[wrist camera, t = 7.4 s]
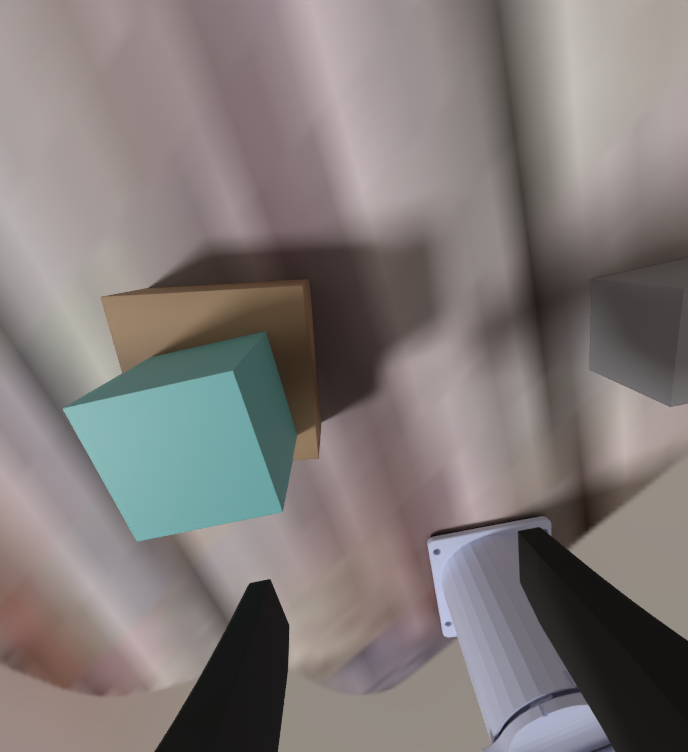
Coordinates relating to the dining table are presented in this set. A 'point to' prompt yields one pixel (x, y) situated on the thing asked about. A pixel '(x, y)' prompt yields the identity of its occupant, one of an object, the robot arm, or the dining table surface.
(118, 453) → the teal cube
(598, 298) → the gray cube
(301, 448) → the base block
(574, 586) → the robot arm
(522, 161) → the dining table surface
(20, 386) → the dining table surface
